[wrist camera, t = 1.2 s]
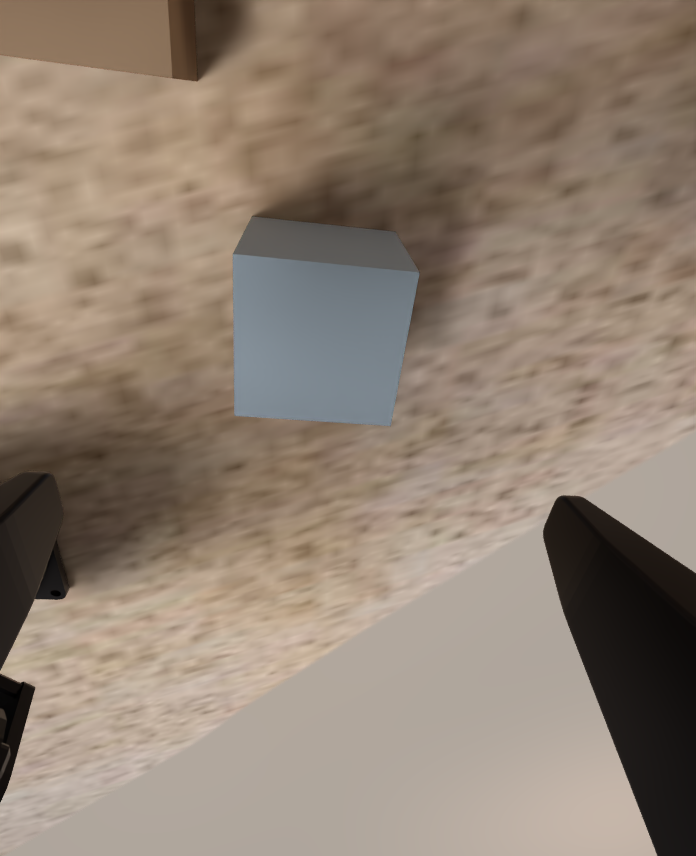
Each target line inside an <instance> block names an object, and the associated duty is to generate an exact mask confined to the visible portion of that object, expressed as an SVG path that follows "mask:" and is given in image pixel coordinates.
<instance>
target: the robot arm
mask: <svg viewBox="0 0 696 856" xmlns="http://www.w3.org/2000/svg"><path fill="white" fill-rule="evenodd" d="M62 520H63V506H62V502H61V498H60V495H59V491H58V487H57V483H56V480H55V477H54V476H53V474H51V473H49V472H41V471H25V472H22V473H20V474H18V475H16V476H15V477H13V478H11V479H9V480H7V481H6V482H4V483H2V484H0V670H1V668H2V666H3V664H4V662H5V660H6V658H7V656H8V654H9V652H10V650H11V648H12V646H13V644H14V642H15V640H16V638H17V636H18V634H19V632H20V629H21V627H22V625H23V623H24V621H25V619H26V617H27V615H28V613H29V611H30V608H31V606H32V604H33V602H34V599H55V600H58V599H63V598H65V596H66V595H67V593H68V591H69V585H68V582H67V578H66V575H65V571H64V568H63V564H62V560H61V557H60V553H59V550H58V546H57V542H56V538H57V535H58V532H59V529H60V526H61V524H62ZM543 538H544V543H545V546H546V550H547V553H548V557H549V561H550V565H551V568H552V572H553V576H554V580H555V584H556V587H557V591H558V595H559V598H560V601H561V605H562V609H563V612H564V615H565V617H566V620H567V623H568V626H569V628H570V631H571V634H572V636H573V639H574V641H575V644H576V646H577V649H578V652H579V654H580V657H581V659H582V662H583V665H584V667H585V670H586V672H587V675H588V677H589V680H590V683H591V685H592V687H593V690H594V693H595V695H596V698H597V701H598V703H599V706H600V708H601V711H602V714H603V716H604V719H605V721H606V724H607V727H608V729H609V732H610V734H611V737H612V739H613V742H614V745H615V747H616V750H617V752H618V755H619V758H620V760H621V763H622V765H623V768H624V770H625V773H626V776H627V778H628V781H629V783H630V786H631V788H632V791H633V794H634V796H635V799H636V802H637V804H638V807H639V809H640V812H641V814H642V817H643V819H644V822H645V825H646V827H647V830H648V833H649V835H650V837H651V840H652V843H653V845H654V848H655V851H656V853H657V856H696V573H695V572H693V571H692V570H690V569H688V568H687V567H686V566H684V565H683V564H681V563H680V562H678V561H677V560H675V559H674V558H672V557H671V556H669V555H668V554H666V553H665V552H663V551H662V550H660V549H659V548H657V547H656V546H654V545H653V544H652V543H650V542H649V541H647V540H646V539H644V538H643V537H641V536H640V535H638V534H637V533H635V532H634V531H632V530H630V529H629V528H628V527H626V526H625V525H623V524H622V523H620V522H619V521H617V520H616V519H614V518H613V517H611V516H610V515H608V514H607V513H606V512H604V511H603V510H601V509H599V508H598V507H597V506H595V505H594V504H592V503H591V502H589V501H588V500H586V499H585V498H583V497H580V496H566V495H563V496H559V497H558V498H557V499H556V501H555V503H554V505H553V507H552V510H551V512H550V514H549V517H548V519H547V521H546V523H545V526H544V530H543ZM34 691H35V687H34V686H32V685H30V684H28V683H26V682H22V683H20V682H17V681H15V680H13V679H11V678H9V677H6V676H4V675H2V674H0V802H1V800H2V798H3V796H4V793H5V791H6V789H7V786H8V783H9V780H10V777H11V774H12V771H13V767H14V763H15V760H16V756H17V752H18V749H19V745H20V742H21V738H22V734H23V731H24V727H25V723H26V720H27V716H28V712H29V709H30V705H31V702H32V698H33V694H34Z"/></svg>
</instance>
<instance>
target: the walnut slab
mask: <svg viewBox="0 0 696 856" xmlns="http://www.w3.org/2000/svg"><path fill="white" fill-rule="evenodd" d="M0 55H3V56H10V57H18V58H25V59H33V60H40V61H48V62H55V63H63V64H70V65H77V66H85V67H92V68H100V69H107V70H115V71H122V72H129V73H137V74H144V75H152V76H159V77H167V78H174V79H182V80H191V81H198V80H197V55H196V30H195V5H194V0H0Z"/></svg>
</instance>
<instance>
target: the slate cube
mask: <svg viewBox="0 0 696 856" xmlns="http://www.w3.org/2000/svg"><path fill="white" fill-rule="evenodd" d="M419 273H420V272H419V271H418V269H417V267H416V266H415V264H414V262H413V260H412V259H411V257H410V255H409V254H408V252H407V250H406V249H405V247H404V245H403V244H402V242H401V240H400V239H399V237H398V235H397V234H396V232H393V231H384V230H375V229H365V228H356V227H347V226H337V225H328V224H319V223H310V222H300V221H291V220H282V219H272V218H263V217H254V216H252V217H251V219H250V221H249V223H248V225H247V227H246V229H245V231H244V233H243V235H242V237H241V239H240V241H239V243H238V245H237V247H236V249H235V251H234V253H233V313H234V415H235V416H246V417H261V418H276V419H292V420H307V421H322V422H338V423H353V424H368V425H383V426H391V421H392V416H393V411H394V405H395V400H396V395H397V389H398V384H399V379H400V374H401V368H402V363H403V358H404V352H405V347H406V342H407V337H408V331H409V326H410V321H411V315H412V310H413V305H414V299H415V294H416V289H417V284H418V278H419Z"/></svg>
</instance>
